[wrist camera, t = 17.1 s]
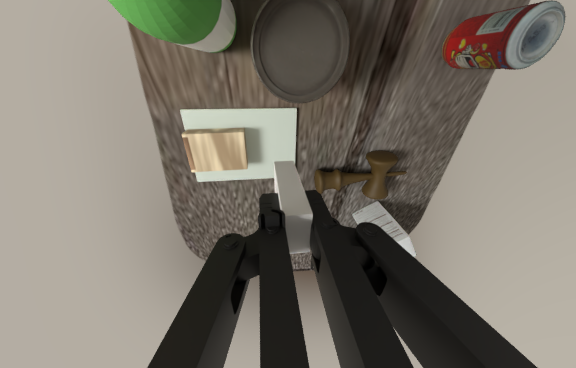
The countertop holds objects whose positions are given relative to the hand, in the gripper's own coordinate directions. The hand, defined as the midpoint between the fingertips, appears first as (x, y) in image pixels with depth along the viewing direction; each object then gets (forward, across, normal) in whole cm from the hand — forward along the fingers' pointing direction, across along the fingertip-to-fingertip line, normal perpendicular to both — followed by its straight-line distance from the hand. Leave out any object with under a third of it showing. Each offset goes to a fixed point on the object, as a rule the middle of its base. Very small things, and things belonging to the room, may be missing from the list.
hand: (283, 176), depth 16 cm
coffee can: (+25, +3, +9) cm, 26 cm away
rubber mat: (+24, -5, -6) cm, 26 cm away
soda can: (+25, +33, +11) cm, 43 cm away
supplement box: (+25, +25, -26) cm, 44 cm away
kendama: (+25, +19, -13) cm, 34 cm away
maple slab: (+22, -5, -6) cm, 23 cm away
